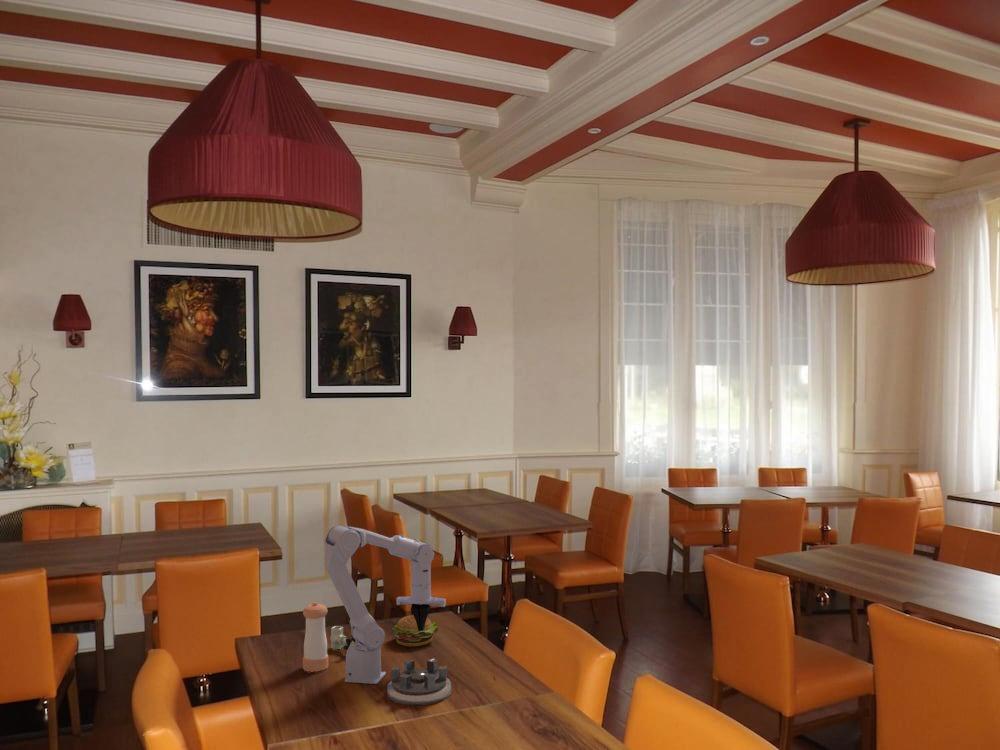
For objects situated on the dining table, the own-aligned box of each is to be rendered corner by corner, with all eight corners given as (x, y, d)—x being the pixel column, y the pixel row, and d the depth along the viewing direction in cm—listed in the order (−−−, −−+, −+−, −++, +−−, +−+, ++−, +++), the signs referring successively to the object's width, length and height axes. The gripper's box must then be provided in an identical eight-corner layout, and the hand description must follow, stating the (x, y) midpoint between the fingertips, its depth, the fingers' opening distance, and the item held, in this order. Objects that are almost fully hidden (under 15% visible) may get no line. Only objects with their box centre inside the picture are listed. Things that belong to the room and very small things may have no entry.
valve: (324, 649, 239) (344, 659, 230) (324, 628, 239) (344, 637, 230) (342, 644, 243) (363, 654, 234) (342, 623, 243) (363, 632, 234)
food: (400, 651, 236) (400, 626, 236) (388, 638, 249) (388, 613, 249) (442, 645, 241) (442, 620, 241) (428, 632, 254) (428, 608, 254)
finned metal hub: (426, 698, 195) (426, 681, 195) (380, 688, 202) (380, 671, 202) (456, 679, 207) (456, 663, 207) (412, 669, 214) (412, 654, 214)
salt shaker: (297, 670, 221) (297, 604, 221) (312, 662, 227) (312, 597, 228) (318, 674, 218) (318, 606, 218) (333, 665, 225) (333, 600, 225)
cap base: (378, 703, 198) (378, 694, 198) (398, 678, 214) (398, 670, 214) (441, 707, 195) (441, 699, 195) (457, 682, 211) (457, 674, 211)
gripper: (448, 581, 227) (448, 626, 227) (401, 579, 230) (401, 624, 229) (442, 587, 220) (442, 634, 220) (394, 585, 223) (394, 631, 222)
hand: (421, 629), depth 224 cm, fingers closed
